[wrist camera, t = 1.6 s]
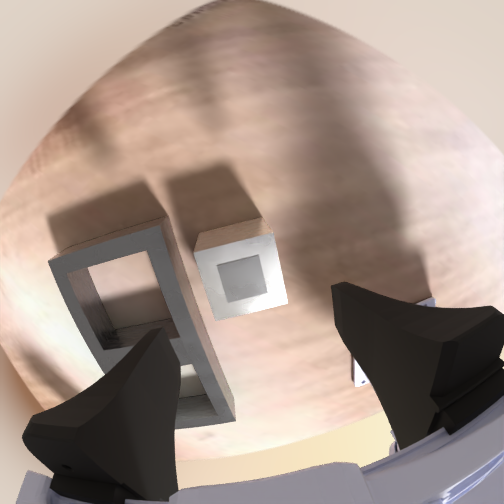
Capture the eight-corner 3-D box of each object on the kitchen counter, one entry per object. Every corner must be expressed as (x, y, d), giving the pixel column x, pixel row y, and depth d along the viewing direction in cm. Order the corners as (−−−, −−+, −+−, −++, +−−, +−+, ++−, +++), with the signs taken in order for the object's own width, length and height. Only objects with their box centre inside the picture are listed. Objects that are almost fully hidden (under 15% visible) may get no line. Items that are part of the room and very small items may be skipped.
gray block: (262, 216, 20) (273, 232, 15) (274, 274, 21) (288, 303, 17) (199, 232, 20) (193, 253, 15) (216, 289, 21) (215, 321, 17)
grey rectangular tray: (168, 215, 19) (159, 225, 16) (233, 398, 25) (235, 421, 22) (66, 248, 19) (47, 261, 16) (150, 409, 24) (146, 431, 22)
